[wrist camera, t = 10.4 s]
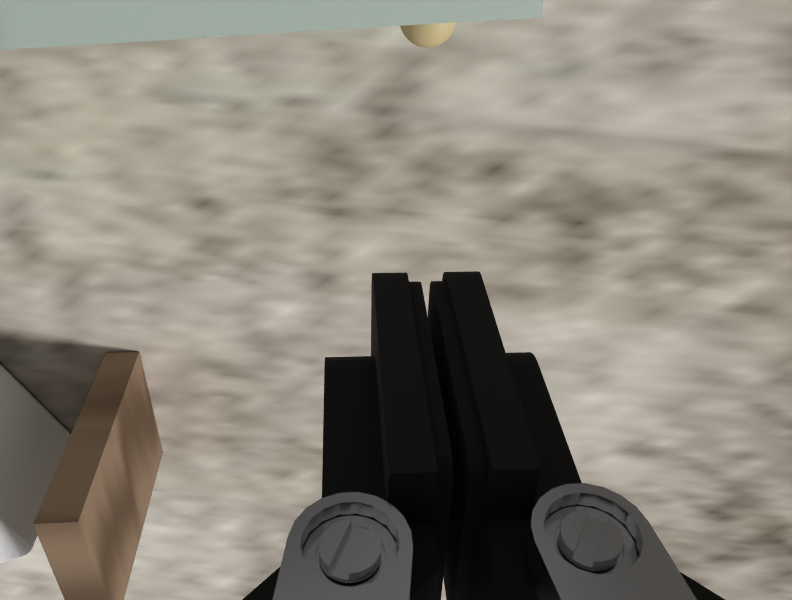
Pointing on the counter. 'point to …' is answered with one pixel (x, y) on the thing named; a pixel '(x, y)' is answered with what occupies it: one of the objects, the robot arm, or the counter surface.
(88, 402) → the door frame
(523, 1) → the door
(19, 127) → the counter surface
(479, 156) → the counter surface
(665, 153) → the counter surface
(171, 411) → the counter surface
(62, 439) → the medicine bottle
